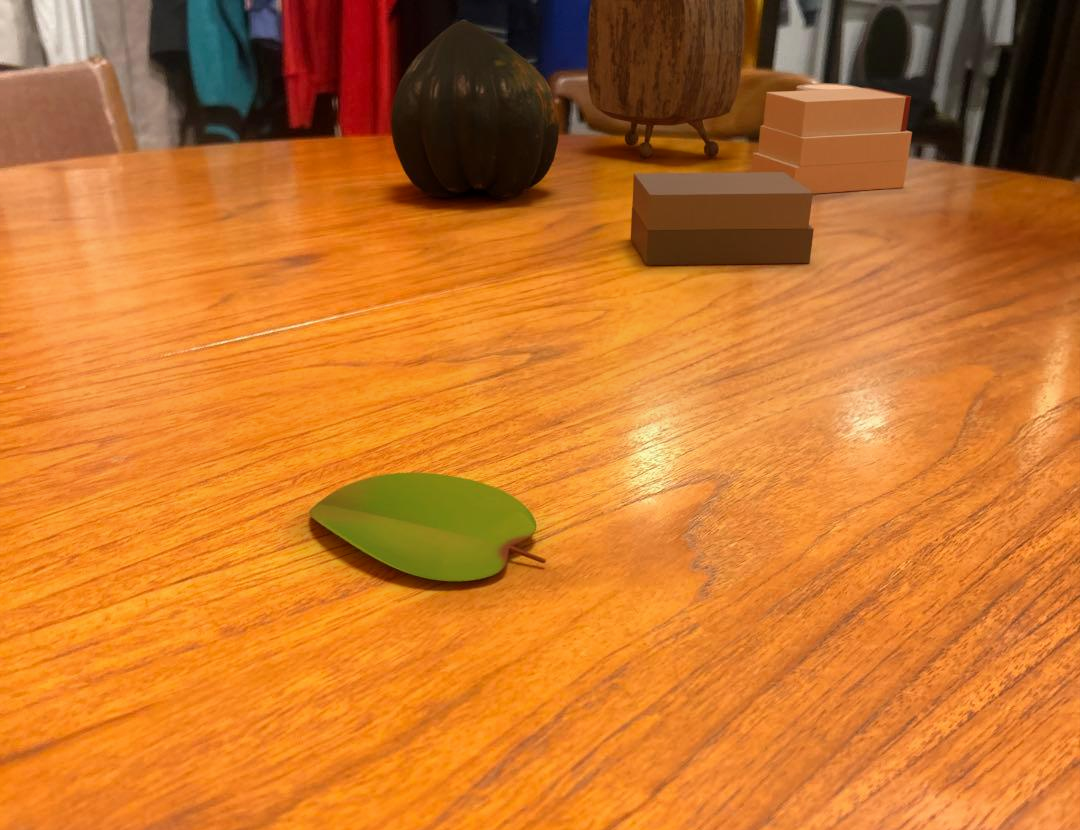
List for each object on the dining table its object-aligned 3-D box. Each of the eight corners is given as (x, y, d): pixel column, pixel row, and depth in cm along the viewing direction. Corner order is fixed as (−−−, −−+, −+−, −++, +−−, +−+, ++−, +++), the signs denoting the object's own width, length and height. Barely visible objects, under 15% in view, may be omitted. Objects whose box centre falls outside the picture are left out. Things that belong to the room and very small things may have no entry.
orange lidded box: (855, 172, 110) (863, 119, 108) (903, 187, 103) (912, 132, 101) (750, 179, 107) (755, 125, 104) (792, 195, 100) (799, 138, 98)
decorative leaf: (379, 621, 38) (376, 599, 38) (298, 508, 45) (295, 488, 44) (569, 556, 41) (568, 535, 41) (467, 459, 48) (465, 440, 47)
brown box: (781, 237, 86) (788, 171, 84) (809, 263, 79) (818, 192, 77) (630, 238, 85) (633, 172, 83) (646, 265, 78) (649, 194, 76)
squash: (504, 153, 87) (545, -8, 90) (343, 149, 92) (386, -4, 95) (555, 242, 100) (590, 99, 103) (411, 234, 105) (448, 98, 108)
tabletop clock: (734, 157, 117) (758, -114, 105) (686, 169, 111) (705, -117, 99) (627, 142, 125) (637, -110, 113) (577, 153, 119) (582, -113, 107)
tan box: (862, 120, 107) (867, 87, 106) (905, 131, 101) (911, 96, 100) (762, 126, 104) (766, 91, 103) (801, 137, 98) (805, 101, 97)
